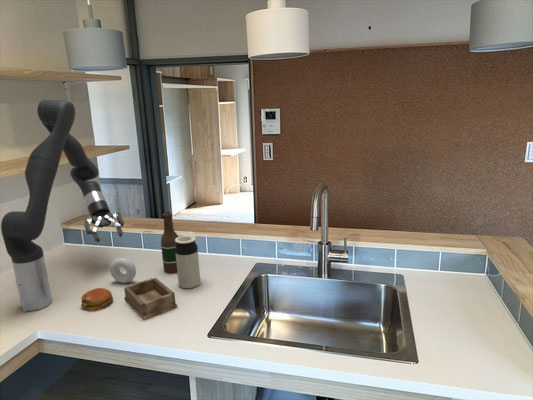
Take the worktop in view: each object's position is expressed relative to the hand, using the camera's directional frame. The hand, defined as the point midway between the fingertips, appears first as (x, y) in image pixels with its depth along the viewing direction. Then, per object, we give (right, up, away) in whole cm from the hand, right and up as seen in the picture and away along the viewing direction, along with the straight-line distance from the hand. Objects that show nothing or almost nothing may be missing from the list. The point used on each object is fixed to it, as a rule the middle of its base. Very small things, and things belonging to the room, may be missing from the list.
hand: (110, 238), depth 159 cm
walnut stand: (+22, -20, -21) cm, 36 cm away
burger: (+4, -21, -20) cm, 29 cm away
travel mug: (+33, -16, -8) cm, 37 cm away
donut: (+7, -16, -5) cm, 18 cm away
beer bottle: (+24, -13, +5) cm, 27 cm away
